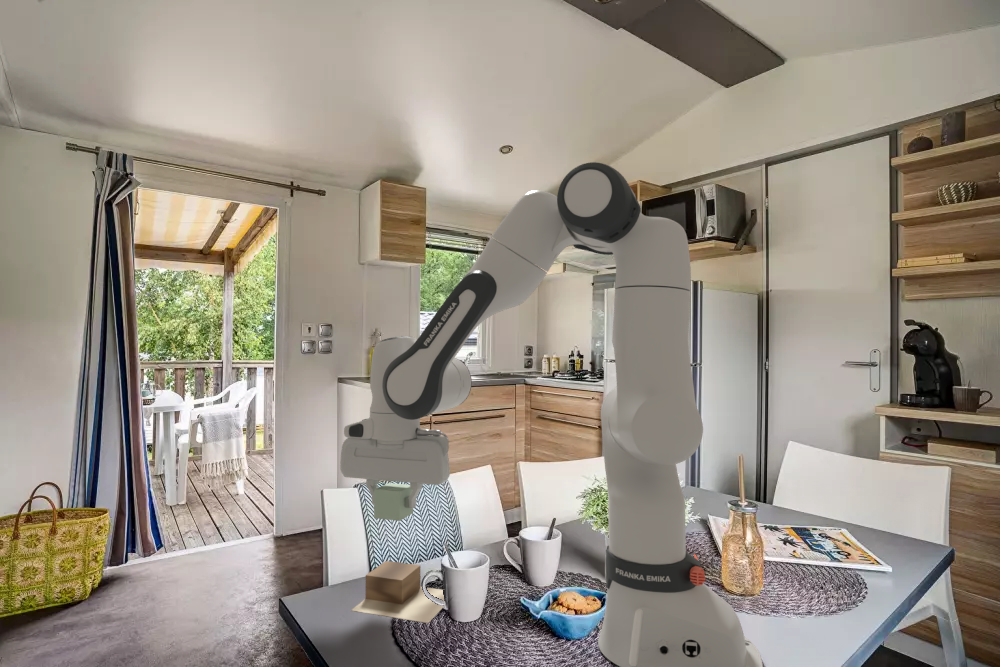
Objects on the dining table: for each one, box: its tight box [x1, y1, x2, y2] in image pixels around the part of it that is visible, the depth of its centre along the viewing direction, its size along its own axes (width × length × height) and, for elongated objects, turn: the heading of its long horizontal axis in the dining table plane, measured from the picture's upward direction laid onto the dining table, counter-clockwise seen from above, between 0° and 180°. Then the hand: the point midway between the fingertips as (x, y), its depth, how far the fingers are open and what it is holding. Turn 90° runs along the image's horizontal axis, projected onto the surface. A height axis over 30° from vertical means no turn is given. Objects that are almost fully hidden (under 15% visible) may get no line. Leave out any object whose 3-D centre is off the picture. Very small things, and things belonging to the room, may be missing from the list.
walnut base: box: [364, 560, 421, 604], centre depth 98 cm, size 7×7×4 cm
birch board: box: [350, 586, 445, 624], centre depth 94 cm, size 14×12×1 cm
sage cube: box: [373, 482, 414, 522], centre depth 98 cm, size 5×5×5 cm
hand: (393, 505), depth 98 cm, fingers closed on sage cube, 5 cm apart
